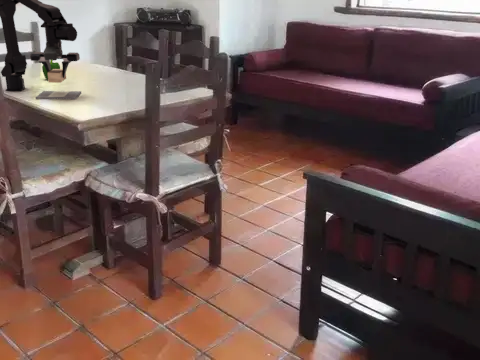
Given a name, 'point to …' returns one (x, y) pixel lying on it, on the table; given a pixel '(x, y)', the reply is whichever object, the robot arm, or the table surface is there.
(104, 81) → the table surface
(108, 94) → the table surface
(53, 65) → the bell pepper
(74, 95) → the mat
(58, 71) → the copper block with band
